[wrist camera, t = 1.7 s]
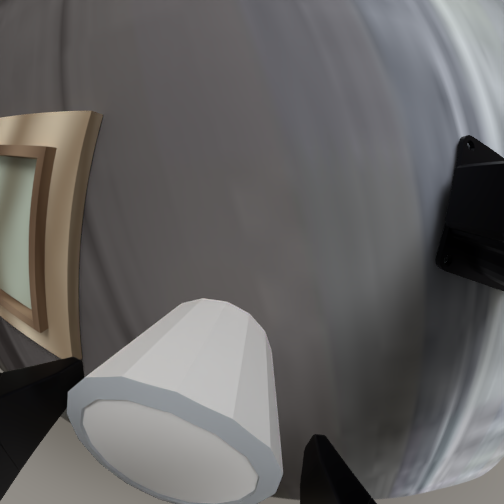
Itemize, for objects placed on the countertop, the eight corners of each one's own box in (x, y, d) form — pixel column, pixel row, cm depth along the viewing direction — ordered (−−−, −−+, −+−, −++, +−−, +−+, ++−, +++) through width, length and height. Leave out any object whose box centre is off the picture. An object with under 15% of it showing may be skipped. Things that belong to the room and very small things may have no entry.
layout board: (103, 115, 11) (81, 107, 9) (82, 358, 14) (66, 372, 12) (-13, 122, 11) (-28, 120, 10) (-22, 286, 14) (-35, 292, 13)
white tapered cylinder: (195, 253, 12) (99, 322, 5) (315, 347, 12) (336, 472, 5) (127, 348, 13) (51, 429, 6) (227, 420, 13) (200, 522, 7)
